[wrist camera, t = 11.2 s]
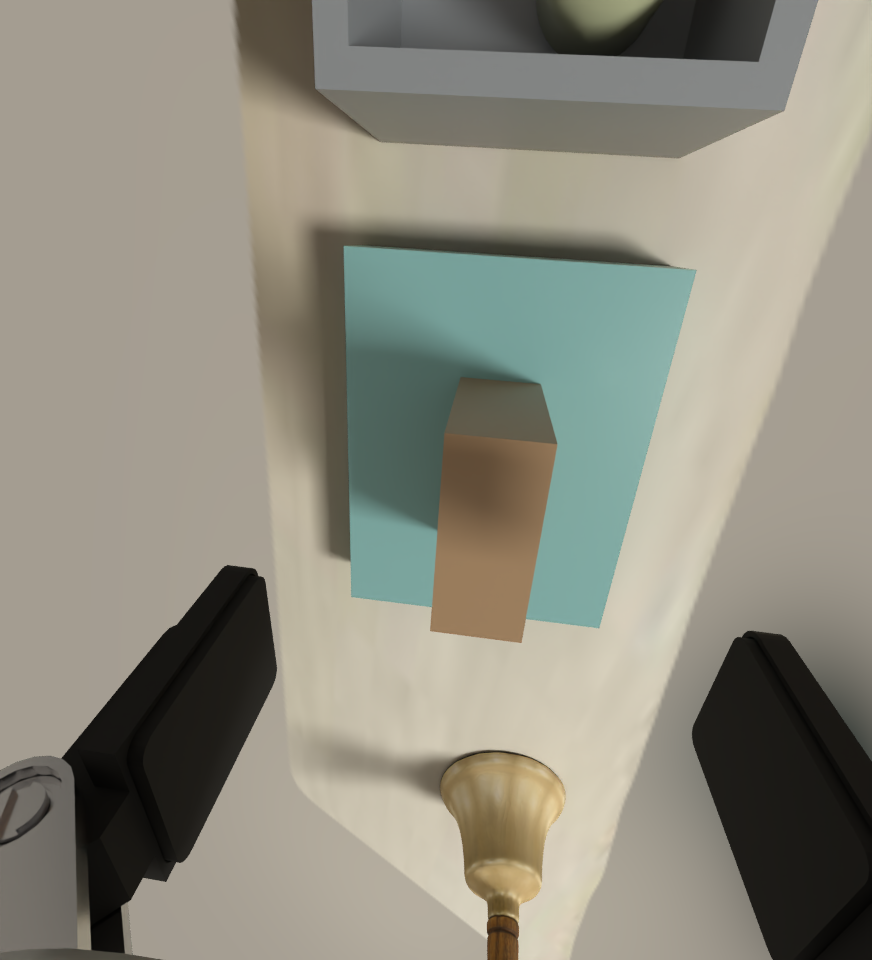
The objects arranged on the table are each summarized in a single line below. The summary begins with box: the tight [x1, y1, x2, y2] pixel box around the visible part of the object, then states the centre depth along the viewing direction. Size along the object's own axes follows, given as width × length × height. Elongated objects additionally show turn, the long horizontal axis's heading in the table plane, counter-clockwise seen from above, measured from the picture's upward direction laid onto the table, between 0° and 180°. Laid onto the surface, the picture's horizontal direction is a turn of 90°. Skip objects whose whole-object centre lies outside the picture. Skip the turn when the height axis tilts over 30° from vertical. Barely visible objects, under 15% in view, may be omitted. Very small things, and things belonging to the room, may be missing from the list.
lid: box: [344, 245, 696, 643], centre depth 18 cm, size 15×12×8 cm
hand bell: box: [440, 752, 565, 960], centre depth 26 cm, size 8×8×16 cm
